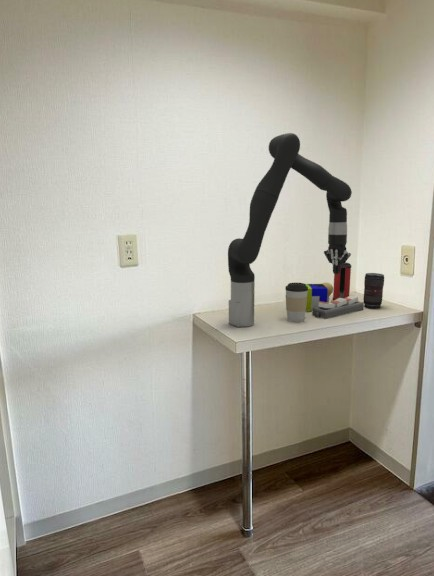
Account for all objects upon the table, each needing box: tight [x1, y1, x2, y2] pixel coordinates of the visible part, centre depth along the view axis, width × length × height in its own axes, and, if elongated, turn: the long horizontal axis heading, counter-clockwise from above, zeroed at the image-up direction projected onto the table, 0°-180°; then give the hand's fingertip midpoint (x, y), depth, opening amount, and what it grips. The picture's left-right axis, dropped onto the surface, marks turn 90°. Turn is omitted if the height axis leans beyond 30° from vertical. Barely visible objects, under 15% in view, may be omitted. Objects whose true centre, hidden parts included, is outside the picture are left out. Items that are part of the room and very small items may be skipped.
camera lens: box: [363, 272, 385, 310], centre depth 187 cm, size 8×8×15 cm
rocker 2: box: [329, 298, 347, 307], centre depth 180 cm, size 6×4×2 cm, turn 124°
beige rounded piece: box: [321, 282, 334, 303], centre depth 193 cm, size 6×6×10 cm
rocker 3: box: [344, 295, 359, 305], centre depth 184 cm, size 6×4×2 cm, turn 123°
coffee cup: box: [284, 282, 308, 323], centre depth 170 cm, size 9×9×15 cm
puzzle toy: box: [305, 283, 328, 312], centre depth 187 cm, size 10×10×10 cm
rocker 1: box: [318, 301, 335, 308], centre depth 176 cm, size 6×4×2 cm, turn 124°
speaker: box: [332, 262, 352, 301], centre depth 198 cm, size 8×8×18 cm
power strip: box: [311, 300, 364, 320], centre depth 180 cm, size 26×7×3 cm, turn 124°
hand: (336, 273), depth 180 cm, fingers closed
